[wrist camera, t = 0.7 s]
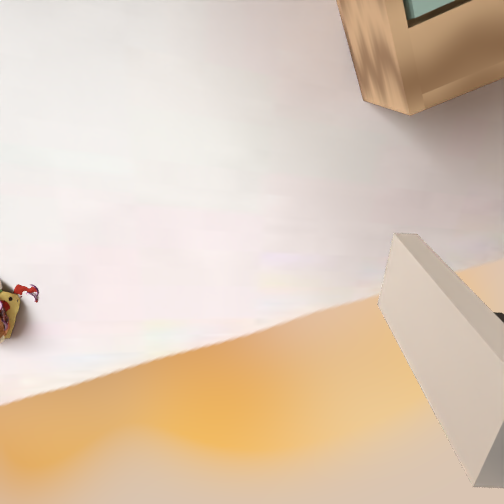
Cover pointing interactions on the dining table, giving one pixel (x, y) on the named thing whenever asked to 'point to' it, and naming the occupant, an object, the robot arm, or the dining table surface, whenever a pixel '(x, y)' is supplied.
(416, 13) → the lid
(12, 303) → the hamburger
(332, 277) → the dining table surface
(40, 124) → the dining table surface
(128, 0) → the dining table surface
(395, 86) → the toolbox
